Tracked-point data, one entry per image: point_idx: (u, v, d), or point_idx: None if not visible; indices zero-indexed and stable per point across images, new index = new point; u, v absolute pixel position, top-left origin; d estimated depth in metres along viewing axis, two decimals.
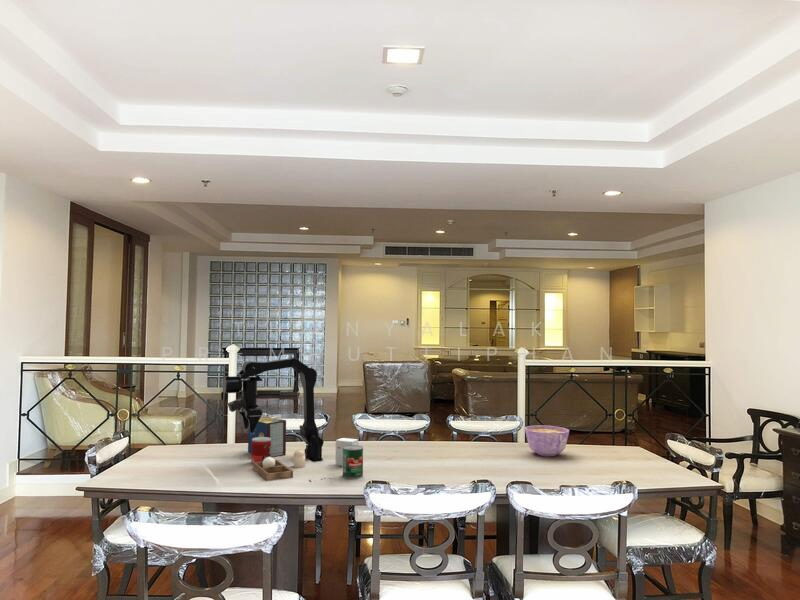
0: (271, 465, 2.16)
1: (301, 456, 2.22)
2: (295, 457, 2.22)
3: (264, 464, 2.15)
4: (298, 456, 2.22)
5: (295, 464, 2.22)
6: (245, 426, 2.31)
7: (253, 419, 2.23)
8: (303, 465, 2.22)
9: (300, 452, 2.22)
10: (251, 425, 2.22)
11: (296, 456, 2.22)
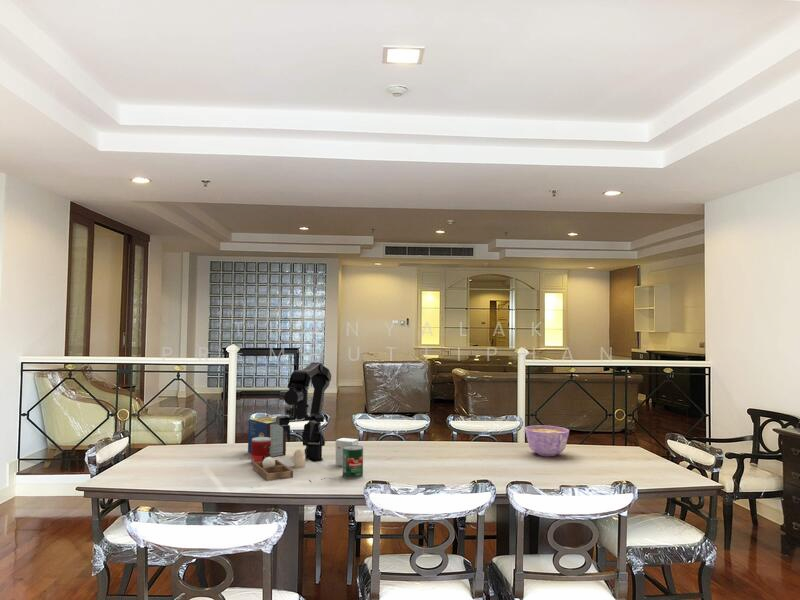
0: (271, 465, 2.16)
1: (301, 456, 2.22)
2: (295, 457, 2.22)
3: (264, 464, 2.15)
4: (298, 456, 2.22)
5: (295, 464, 2.22)
6: (309, 437, 2.27)
7: (286, 428, 2.21)
8: (303, 465, 2.22)
9: (300, 452, 2.22)
10: (286, 434, 2.22)
11: (296, 456, 2.22)
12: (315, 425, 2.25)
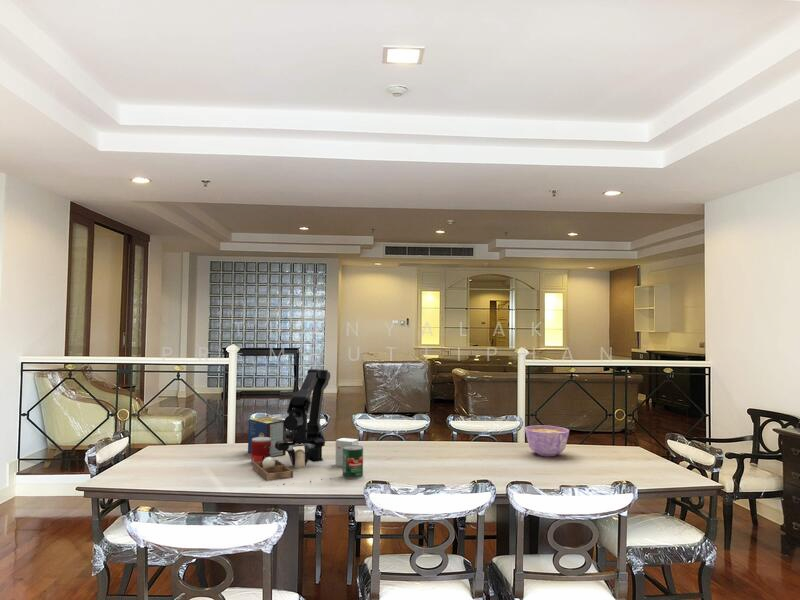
0: (271, 465, 2.16)
1: (301, 456, 2.22)
2: (295, 457, 2.22)
3: (264, 464, 2.15)
4: (298, 456, 2.22)
5: (295, 464, 2.22)
6: None
7: None
8: (303, 465, 2.22)
9: (300, 452, 2.22)
10: (290, 458, 2.22)
11: (296, 456, 2.22)
12: (310, 450, 2.23)
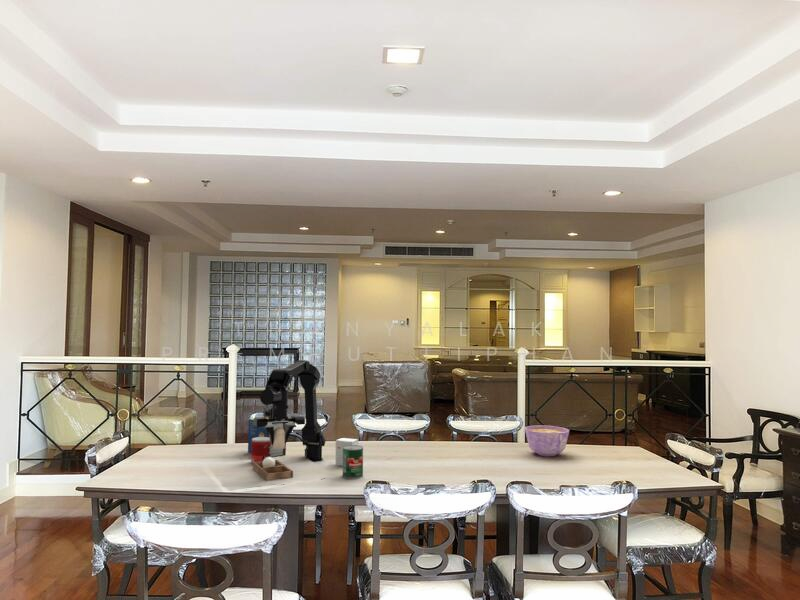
0: (271, 465, 2.16)
1: (281, 434, 2.09)
2: (274, 435, 2.09)
3: (264, 464, 2.15)
4: (277, 433, 2.09)
5: (274, 442, 2.09)
6: None
7: None
8: (283, 443, 2.09)
9: (280, 429, 2.09)
10: (269, 436, 2.09)
11: (276, 434, 2.09)
12: (290, 428, 2.10)
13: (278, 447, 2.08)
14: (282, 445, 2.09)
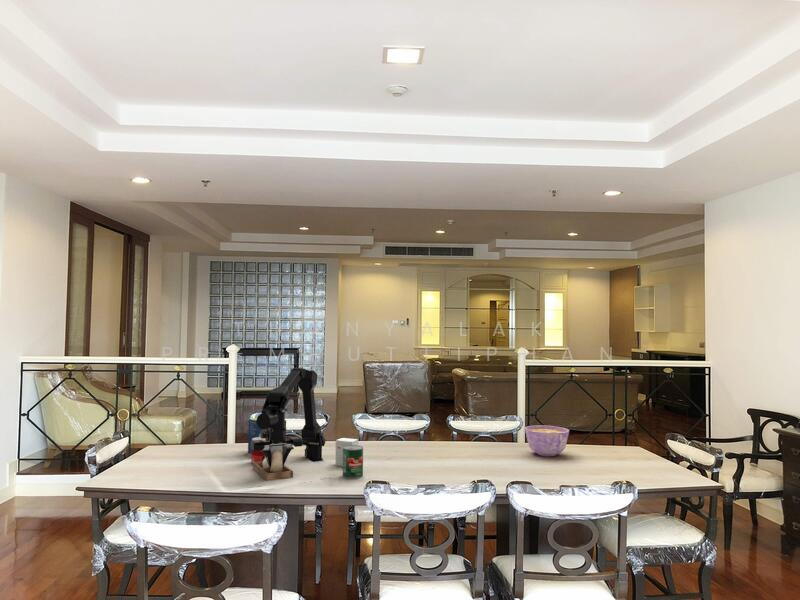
0: None
1: (278, 456, 2.07)
2: (272, 457, 2.07)
3: (264, 464, 2.15)
4: (274, 456, 2.07)
5: (272, 465, 2.07)
6: None
7: None
8: (280, 466, 2.08)
9: (277, 452, 2.08)
10: None
11: (273, 456, 2.07)
12: (288, 450, 2.09)
13: (276, 470, 2.07)
14: (280, 468, 2.08)
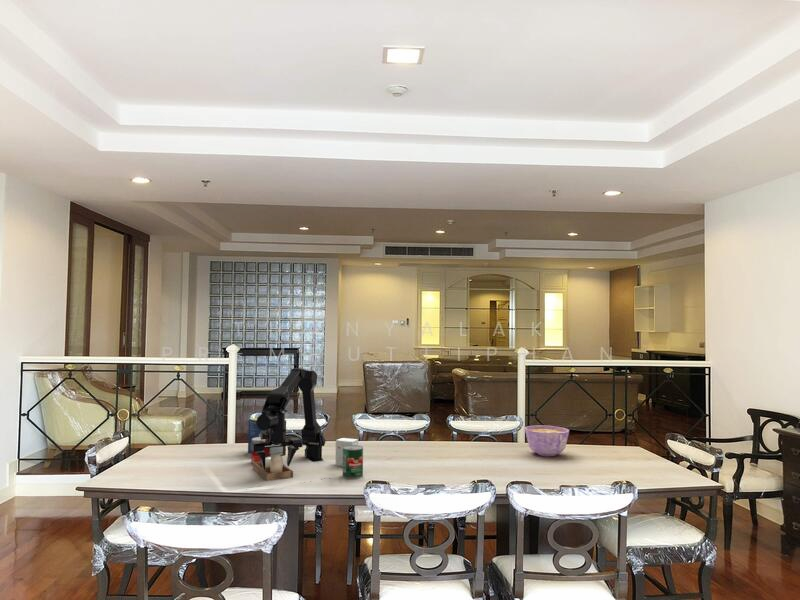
0: None
1: (278, 461, 2.07)
2: (272, 463, 2.07)
3: None
4: (274, 461, 2.07)
5: (272, 470, 2.07)
6: (287, 463, 2.12)
7: None
8: (280, 471, 2.08)
9: (277, 457, 2.08)
10: (261, 461, 2.07)
11: (273, 462, 2.07)
12: (293, 451, 2.10)
13: None
14: None
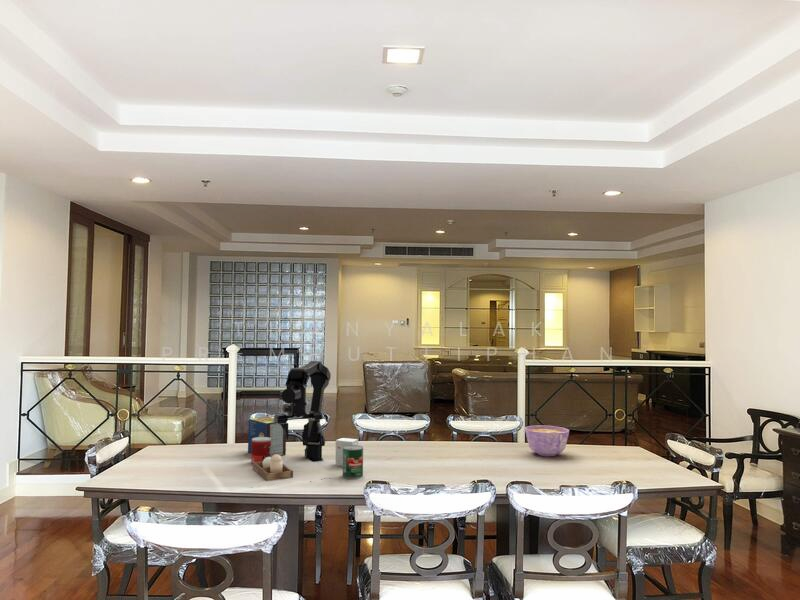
0: None
1: (278, 461, 2.07)
2: (272, 463, 2.07)
3: (264, 464, 2.15)
4: (274, 461, 2.07)
5: (272, 470, 2.07)
6: (308, 434, 2.26)
7: None
8: (280, 471, 2.08)
9: (277, 457, 2.08)
10: (284, 432, 2.21)
11: (273, 461, 2.07)
12: (314, 423, 2.24)
13: None
14: None
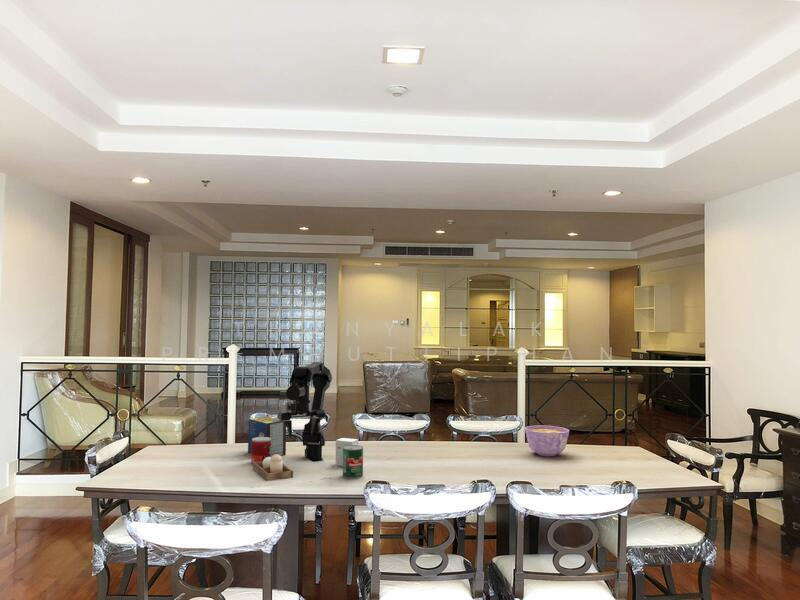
0: None
1: (278, 461, 2.07)
2: (272, 463, 2.07)
3: (264, 464, 2.15)
4: (274, 461, 2.07)
5: (272, 470, 2.07)
6: (311, 432, 2.28)
7: (288, 423, 2.23)
8: (280, 471, 2.08)
9: (277, 457, 2.08)
10: (287, 429, 2.23)
11: (273, 461, 2.07)
12: (317, 421, 2.26)
13: None
14: None
